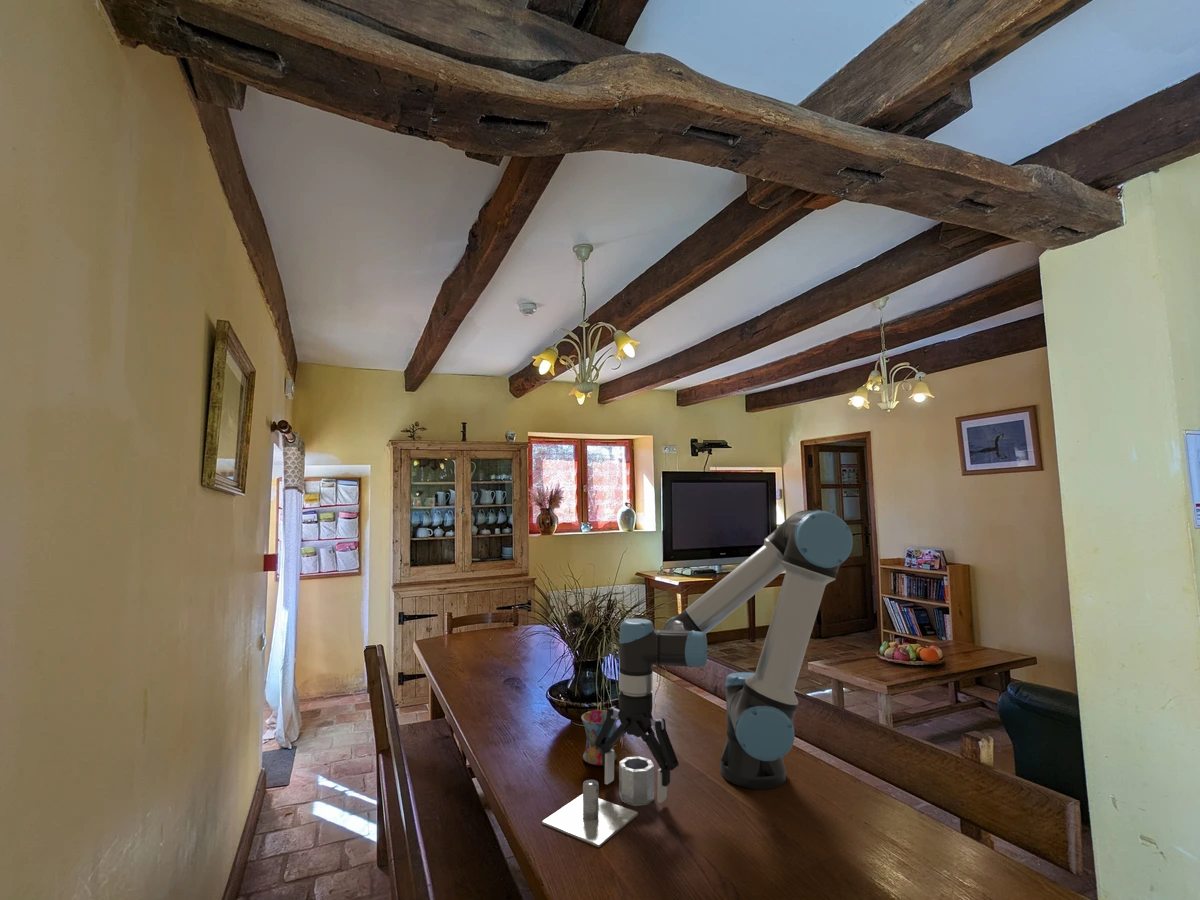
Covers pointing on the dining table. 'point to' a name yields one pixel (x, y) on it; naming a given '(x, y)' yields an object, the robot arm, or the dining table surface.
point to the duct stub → (590, 817)
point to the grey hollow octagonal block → (636, 781)
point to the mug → (595, 735)
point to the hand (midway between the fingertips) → (634, 791)
